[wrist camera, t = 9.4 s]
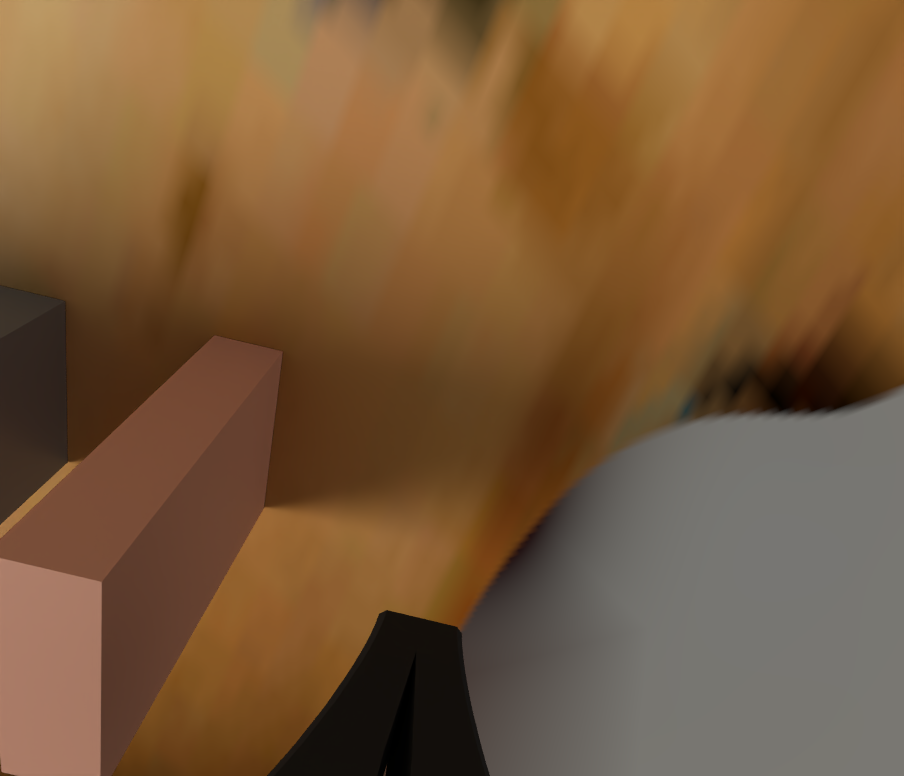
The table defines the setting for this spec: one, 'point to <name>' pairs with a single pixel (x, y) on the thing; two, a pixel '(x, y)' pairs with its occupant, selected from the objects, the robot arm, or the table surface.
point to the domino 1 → (31, 394)
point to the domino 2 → (129, 561)
